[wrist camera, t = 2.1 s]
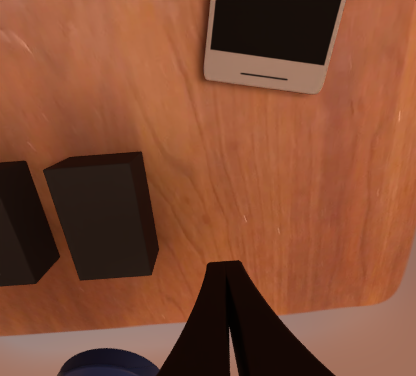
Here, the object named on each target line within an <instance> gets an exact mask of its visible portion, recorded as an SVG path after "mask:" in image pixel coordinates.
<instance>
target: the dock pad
mask: <svg viewBox="0 0 416 376" xmlns="http://www.w3.org/2000/svg"><path fill="white" fill-rule="evenodd" d="M59 258H60V256H59V253H58V250H57V247H56V244H55V242H54V239H53V236H52V233H51V230H50V228H49V225H48V222H47V219H46V216H45V214H44V211H43V208H42V205H41V202H40V200H39V197H38V194H37V191H36V188H35V186H34V183H33V180H32V177H31V174H30V172H29V169H28V166H27V163H26V161H16V162H3V163H0V286H13V285H27V284H36V283H37V282H38V281H39V280H40V279H41V278H42V277H43V276H44V274H45V273H46V272H47V271H48V270H49V269H50V268H51V267H52V265H53V264H54V263H55V262H56V261H57V260H58V259H59Z"/></svg>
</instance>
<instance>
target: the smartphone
mask: <svg viewBox="0 0 416 376" xmlns="http://www.w3.org/2000/svg"><path fill="white" fill-rule="evenodd" d="M345 2H346V0H211V1H210V11H209V21H208V30H207V40H206V49H205V59H204V76H205V79H206V80H208V81H216V82H223V83H231V84H238V85H246V86H253V87H261V88H268V89H276V90H283V91H290V92H298V93H305V94H317V93H319V91H320V90H321V88H322V86H323V83H324V80H325V76H326V73H327V69H328V65H329V61H330V58H331V54H332V50H333V47H334V43H335V39H336V35H337V32H338V28H339V24H340V20H341V17H342V13H343V9H344V6H345Z"/></svg>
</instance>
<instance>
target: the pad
mask: <svg viewBox="0 0 416 376" xmlns="http://www.w3.org/2000/svg"><path fill="white" fill-rule="evenodd" d="M43 172H44V175H45V178H46V181H47V184H48V187H49V190H50V193H51V196H52V199H53V202H54V205H55V208H56V211H57V214H58V217H59V220H60V223H61V226H62V229H63V232H64V235H65V238H66V241H67V244H68V247H69V250H70V253H71V256H72V258H73V261H74V264H75V267H76V270H77V273H78V276H79V279H80V280H95V279H108V278H122V277H136V276H149V275H152V272H153V269H154V265H155V262H156V258H157V255H158V251H159V247H158V241H157V235H156V230H155V224H154V218H153V213H152V207H151V201H150V196H149V190H148V184H147V179H146V173H145V167H144V162H143V156H142V152H130V153H117V154H105V155H92V156H79V157H69V158H67V159H65V160H63V161H61V162H59V163H56V164H54V165H52V166H50V167H48V168H46V169H44V170H43Z"/></svg>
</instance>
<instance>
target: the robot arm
mask: <svg viewBox="0 0 416 376" xmlns="http://www.w3.org/2000/svg"><path fill="white" fill-rule="evenodd" d="M229 327H230V332H231V337H232V343H233V347H234V353H235V357H236V363H237V368H238V373H239V376H335V375H334V374H333V373H332V372H331V371H330V370H329V369H327V368H326V367H325V366H324V365H323V364H322V363H321V362H320V361H319V360H318V359H317V358H316V357H315V356H314V355H313V354H311V352H310V351H309V350H308V349H307V348H306V347H305V346H304V345H303V344H302V343H301V342H300V341H299V340H298V339H297V338H296V337H295V336H294V335H293V334H292V333H291V331H290V330H289V329H288V328H287V327H286V326H285V325H284V324H283V322H282V321H281V320H280V319H279V317H278V316H277V315H276V314H275V312H274V311H273V310H272V309H271V307H270V306H269V305H268V304H267V302H266V301H265V299H264V298H263V297H262V295H261V294H260V292H259V291H258V290H257V288H256V287H255V285H254V284H253V282H252V281H251V279H250V277H249V276H248V274H247V272H246V270H245V269H244V267H243V265H242V262H240V261H239V260H236V261H222V262H209V263H208V264H207V268H206V273H205V277H204V281H203V284H202V287H201V290H200V292H199V295H198V298H197V300H196V303H195V305H194V308H193V310H192V312H191V314H190V316H189V318H188V321H187V323H186V325H185V327H184V329H183V331H182V333H181V335H180V337H179V339H178V340H177V342H176V344H175V346H174V347H173V349H172V351H171V353H170V354H169V356H168V358H167V359H166V361H165V362H164V364H163V366H162V367H161V369H160V371H159V372H158V374H157V375H156V376H230V359H229V358H230V355H229V354H230V353H229Z"/></svg>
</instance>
